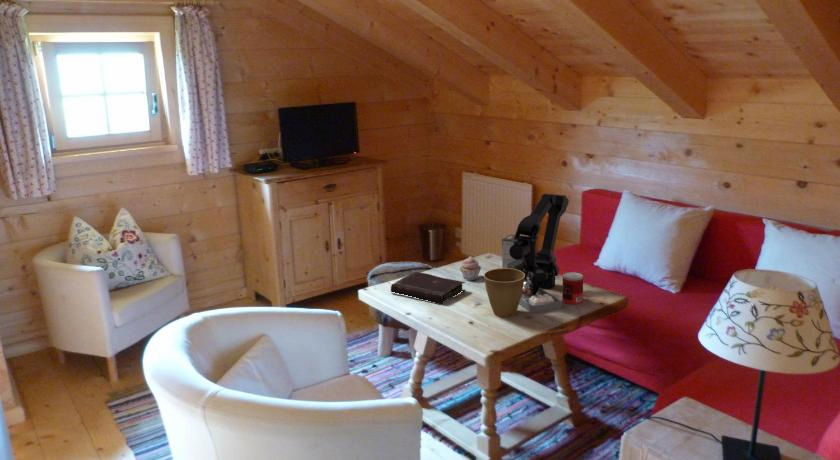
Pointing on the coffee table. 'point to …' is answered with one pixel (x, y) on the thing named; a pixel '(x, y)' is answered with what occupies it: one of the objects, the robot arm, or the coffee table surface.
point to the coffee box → (507, 250)
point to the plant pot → (504, 290)
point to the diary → (427, 287)
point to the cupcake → (470, 269)
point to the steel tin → (527, 289)
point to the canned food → (572, 288)
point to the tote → (541, 307)
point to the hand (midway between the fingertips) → (528, 291)
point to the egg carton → (540, 299)
